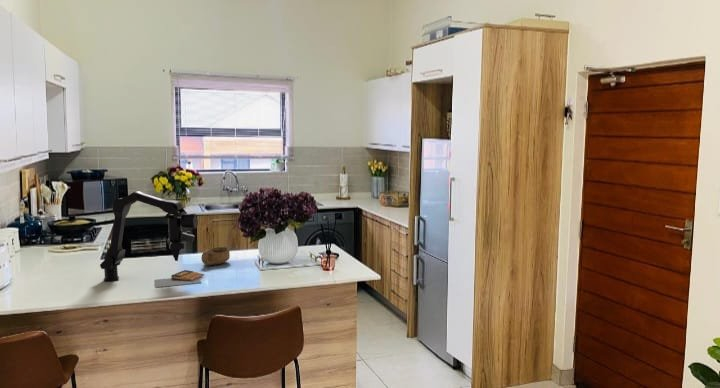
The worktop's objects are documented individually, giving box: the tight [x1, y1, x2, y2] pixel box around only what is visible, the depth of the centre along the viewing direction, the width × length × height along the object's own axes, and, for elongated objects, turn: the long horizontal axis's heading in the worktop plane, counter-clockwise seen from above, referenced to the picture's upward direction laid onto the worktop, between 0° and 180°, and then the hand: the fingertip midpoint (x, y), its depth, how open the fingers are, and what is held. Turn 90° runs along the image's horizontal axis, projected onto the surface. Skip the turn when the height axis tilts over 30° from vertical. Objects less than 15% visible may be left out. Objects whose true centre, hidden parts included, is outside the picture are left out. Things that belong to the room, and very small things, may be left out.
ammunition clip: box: [170, 269, 205, 280], centre depth 265 cm, size 11×2×12 cm
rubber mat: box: [154, 277, 202, 289], centre depth 259 cm, size 14×20×1 cm
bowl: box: [200, 246, 231, 266], centre depth 293 cm, size 18×14×10 cm
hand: (176, 260), depth 260 cm, fingers closed
